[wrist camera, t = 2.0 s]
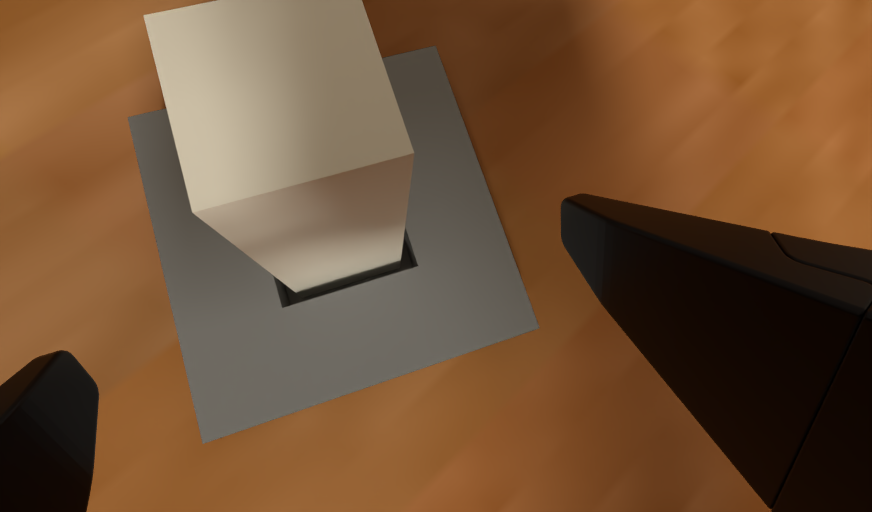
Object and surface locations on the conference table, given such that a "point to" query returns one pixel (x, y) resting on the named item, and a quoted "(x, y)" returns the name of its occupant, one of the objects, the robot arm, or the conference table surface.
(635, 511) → the conference table surface
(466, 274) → the grey square frame
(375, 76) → the plug
